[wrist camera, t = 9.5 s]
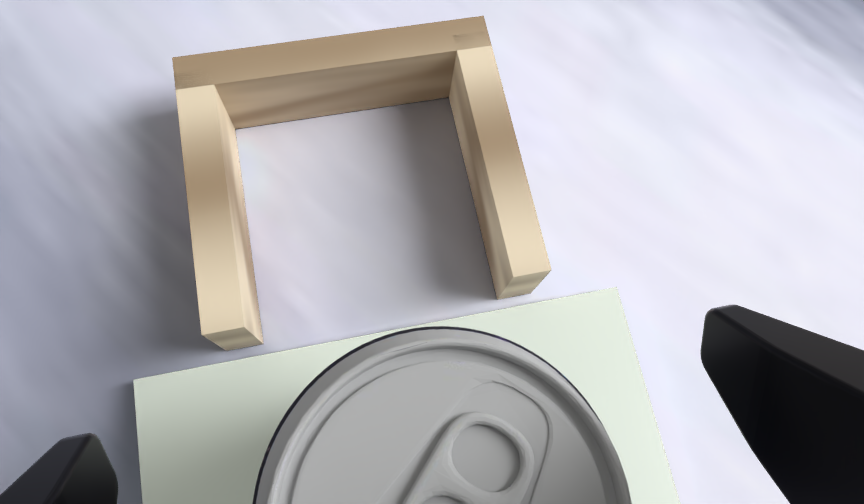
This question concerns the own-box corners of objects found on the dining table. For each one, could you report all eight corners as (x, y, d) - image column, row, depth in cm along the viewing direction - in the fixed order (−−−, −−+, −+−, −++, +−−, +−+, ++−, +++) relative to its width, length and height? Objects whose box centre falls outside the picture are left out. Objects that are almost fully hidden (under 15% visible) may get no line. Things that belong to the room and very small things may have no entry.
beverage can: (283, 516, 19) (134, 609, 8) (385, 354, 21) (385, 237, 10) (446, 624, 19) (539, 893, 7) (538, 449, 20) (732, 446, 9)
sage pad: (691, 566, 20) (699, 569, 20) (164, 698, 18) (157, 707, 18) (610, 291, 23) (616, 287, 22) (140, 381, 21) (133, 379, 20)
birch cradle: (530, 293, 23) (551, 270, 20) (226, 351, 21) (201, 335, 18) (472, 65, 25) (483, 15, 22) (197, 105, 24) (172, 57, 21)
